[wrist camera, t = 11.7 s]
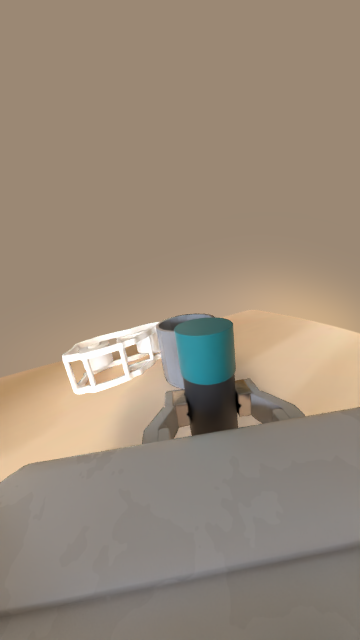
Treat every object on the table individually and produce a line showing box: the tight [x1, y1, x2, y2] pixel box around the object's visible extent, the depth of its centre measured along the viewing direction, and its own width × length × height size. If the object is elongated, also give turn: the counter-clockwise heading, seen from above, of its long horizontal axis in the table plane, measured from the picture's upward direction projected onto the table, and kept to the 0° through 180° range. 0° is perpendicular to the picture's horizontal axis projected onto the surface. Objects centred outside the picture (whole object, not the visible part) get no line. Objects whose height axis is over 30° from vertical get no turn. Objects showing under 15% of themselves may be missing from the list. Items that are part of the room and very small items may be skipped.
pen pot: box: [156, 314, 215, 389], centre depth 30 cm, size 10×10×10 cm
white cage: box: [62, 322, 161, 394], centre depth 36 cm, size 20×11×7 cm, turn 116°
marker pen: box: [174, 317, 238, 436], centre depth 12 cm, size 4×4×12 cm
